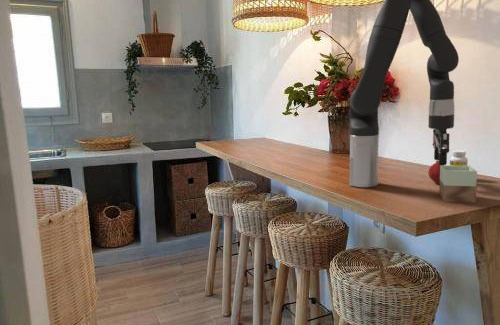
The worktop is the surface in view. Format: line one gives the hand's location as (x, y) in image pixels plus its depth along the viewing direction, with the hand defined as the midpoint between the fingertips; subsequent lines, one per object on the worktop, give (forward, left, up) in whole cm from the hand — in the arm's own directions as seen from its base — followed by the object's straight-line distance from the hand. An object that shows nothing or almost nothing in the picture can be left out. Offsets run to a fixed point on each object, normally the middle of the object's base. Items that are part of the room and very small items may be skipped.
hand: (440, 162), depth 132 cm
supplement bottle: (+7, +8, -8) cm, 13 cm away
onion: (-1, 0, -8) cm, 8 cm away
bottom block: (+1, -18, -8) cm, 19 cm away
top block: (+1, -18, -3) cm, 18 cm away
